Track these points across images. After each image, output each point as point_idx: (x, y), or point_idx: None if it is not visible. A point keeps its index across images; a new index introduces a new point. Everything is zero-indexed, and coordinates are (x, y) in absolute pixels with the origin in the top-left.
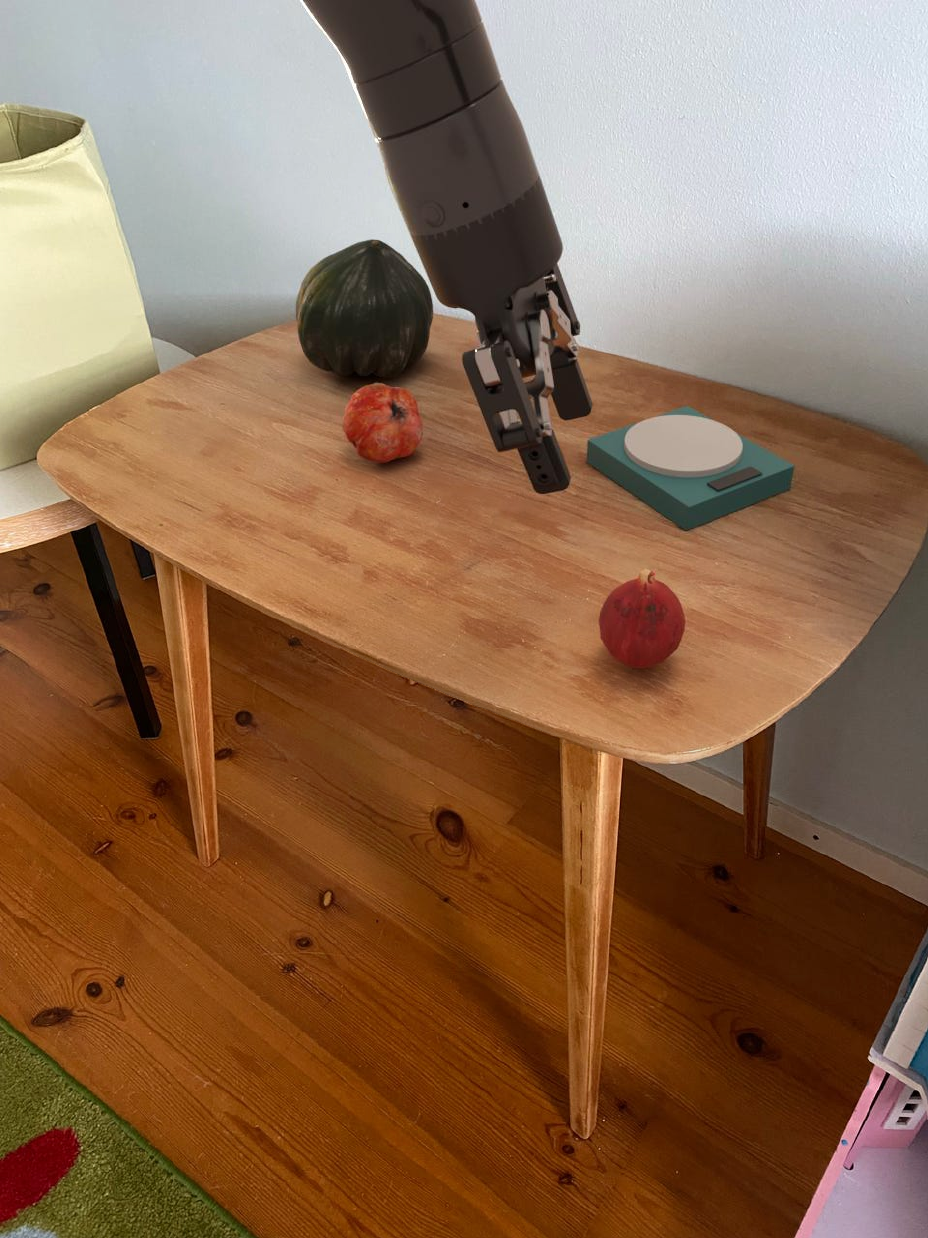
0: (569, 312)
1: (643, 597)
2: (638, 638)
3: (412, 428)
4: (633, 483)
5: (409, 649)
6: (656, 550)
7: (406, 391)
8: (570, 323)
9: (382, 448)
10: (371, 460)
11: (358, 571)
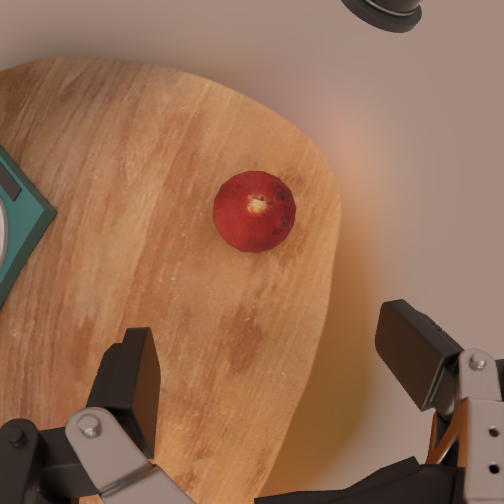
0: (20, 481)
1: (276, 204)
2: (295, 207)
3: None
4: (14, 270)
5: (283, 399)
6: (87, 232)
7: None
8: (34, 461)
9: None
10: None
11: (200, 462)
